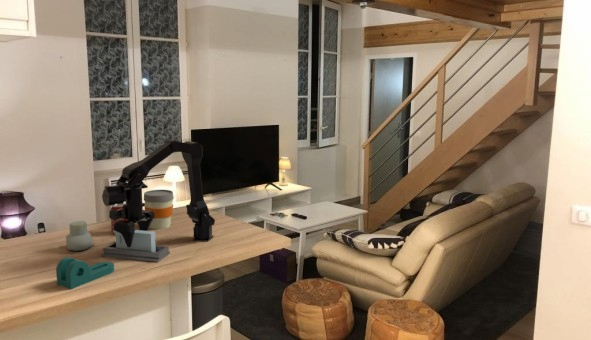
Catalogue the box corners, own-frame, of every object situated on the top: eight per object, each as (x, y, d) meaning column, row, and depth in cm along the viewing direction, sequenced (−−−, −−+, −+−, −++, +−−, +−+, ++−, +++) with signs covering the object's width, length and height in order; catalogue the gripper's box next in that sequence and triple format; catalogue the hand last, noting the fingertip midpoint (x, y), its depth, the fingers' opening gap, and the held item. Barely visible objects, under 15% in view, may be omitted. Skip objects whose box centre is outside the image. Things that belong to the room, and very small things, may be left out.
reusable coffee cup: (170, 230, 208) (169, 196, 206) (140, 230, 208) (139, 195, 206) (177, 222, 221) (176, 189, 218) (149, 221, 221) (148, 189, 218)
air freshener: (93, 251, 182) (91, 225, 180) (68, 254, 178) (67, 228, 176) (89, 242, 192) (88, 217, 190) (66, 245, 188) (64, 220, 186)
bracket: (71, 289, 149) (69, 265, 148) (57, 285, 153) (55, 261, 151) (118, 270, 165) (117, 248, 163) (104, 266, 168) (103, 244, 167)
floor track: (169, 253, 181) (169, 245, 181) (158, 262, 172) (157, 254, 172) (116, 248, 186) (115, 240, 185) (101, 256, 177) (101, 248, 176)
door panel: (155, 252, 179) (155, 231, 177) (151, 255, 176) (150, 234, 174) (121, 249, 182) (120, 228, 180) (116, 252, 179) (115, 230, 177)
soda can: (123, 236, 200) (122, 207, 198) (108, 234, 202) (106, 206, 200) (131, 231, 207) (130, 203, 205) (117, 229, 208) (116, 202, 206)
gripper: (127, 194, 186) (129, 233, 189) (98, 206, 168) (100, 249, 171) (154, 196, 184) (156, 236, 187) (127, 208, 166) (129, 252, 169)
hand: (135, 243), depth 178 cm, fingers open, 9 cm apart
